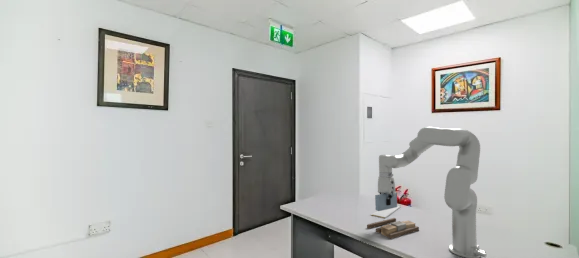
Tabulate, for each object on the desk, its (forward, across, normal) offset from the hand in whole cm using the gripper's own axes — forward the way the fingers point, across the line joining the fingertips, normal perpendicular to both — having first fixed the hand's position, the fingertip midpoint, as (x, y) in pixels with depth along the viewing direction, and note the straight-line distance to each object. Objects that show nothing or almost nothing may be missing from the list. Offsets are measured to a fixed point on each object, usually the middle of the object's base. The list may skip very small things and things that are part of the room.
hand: (386, 204), depth 150 cm
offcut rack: (+14, -4, 0) cm, 15 cm away
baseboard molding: (+15, +22, -23) cm, 35 cm away
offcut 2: (+14, -8, 0) cm, 16 cm away
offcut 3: (+14, -8, -8) cm, 18 cm away
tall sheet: (+3, 0, 0) cm, 3 cm away
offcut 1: (+14, -8, +8) cm, 18 cm away
